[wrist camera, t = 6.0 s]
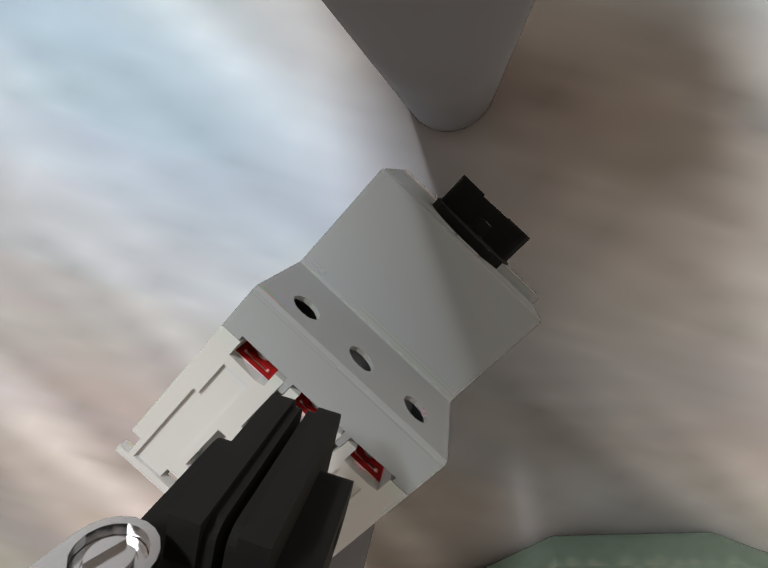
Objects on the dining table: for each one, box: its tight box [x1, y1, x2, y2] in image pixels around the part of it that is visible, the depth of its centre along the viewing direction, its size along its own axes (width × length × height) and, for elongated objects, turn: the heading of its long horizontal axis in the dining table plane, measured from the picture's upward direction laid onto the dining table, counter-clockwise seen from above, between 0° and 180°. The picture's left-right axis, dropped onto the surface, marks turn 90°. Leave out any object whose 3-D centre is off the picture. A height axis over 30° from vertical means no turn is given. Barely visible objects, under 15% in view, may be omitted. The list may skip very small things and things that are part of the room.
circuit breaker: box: [116, 169, 541, 557], centre depth 20 cm, size 8×14×15 cm, turn 137°
